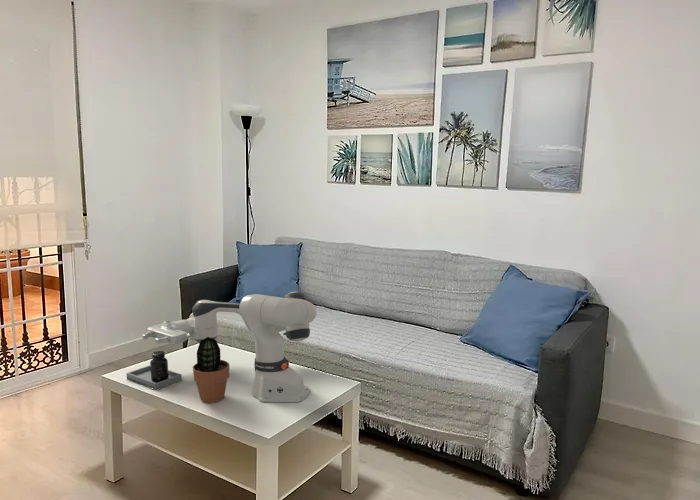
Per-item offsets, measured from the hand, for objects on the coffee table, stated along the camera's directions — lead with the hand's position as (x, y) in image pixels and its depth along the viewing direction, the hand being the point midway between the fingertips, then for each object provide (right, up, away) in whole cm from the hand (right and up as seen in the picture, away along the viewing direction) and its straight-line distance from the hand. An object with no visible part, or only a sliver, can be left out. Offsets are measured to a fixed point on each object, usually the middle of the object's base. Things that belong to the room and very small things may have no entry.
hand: (149, 339), depth 222 cm
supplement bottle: (+4, -17, 0) cm, 18 cm away
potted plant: (+30, -21, -14) cm, 39 cm away
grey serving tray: (+1, -17, +3) cm, 18 cm away
